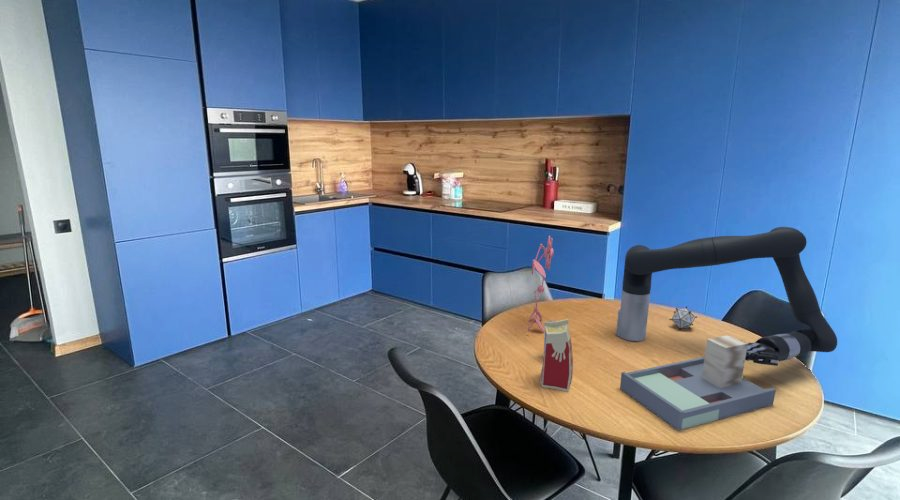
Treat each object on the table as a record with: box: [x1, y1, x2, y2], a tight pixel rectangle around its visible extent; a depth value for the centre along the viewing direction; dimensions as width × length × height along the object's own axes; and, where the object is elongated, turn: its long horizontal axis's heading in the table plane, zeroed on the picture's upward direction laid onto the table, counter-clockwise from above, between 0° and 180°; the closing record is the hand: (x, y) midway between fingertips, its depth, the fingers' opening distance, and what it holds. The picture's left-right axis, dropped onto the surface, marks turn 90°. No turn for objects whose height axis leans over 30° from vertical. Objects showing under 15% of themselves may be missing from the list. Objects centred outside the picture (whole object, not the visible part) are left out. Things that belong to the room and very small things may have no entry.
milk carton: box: [539, 318, 574, 393], centre depth 134 cm, size 9×9×20 cm
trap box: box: [619, 356, 777, 431], centre depth 128 cm, size 33×21×5 cm, turn 110°
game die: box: [668, 305, 698, 331], centre depth 174 cm, size 9×8×10 cm
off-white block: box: [702, 334, 748, 388], centre depth 130 cm, size 8×6×12 cm
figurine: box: [525, 235, 562, 337], centre depth 172 cm, size 15×26×35 cm, turn 170°
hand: (734, 357), depth 131 cm, fingers closed
